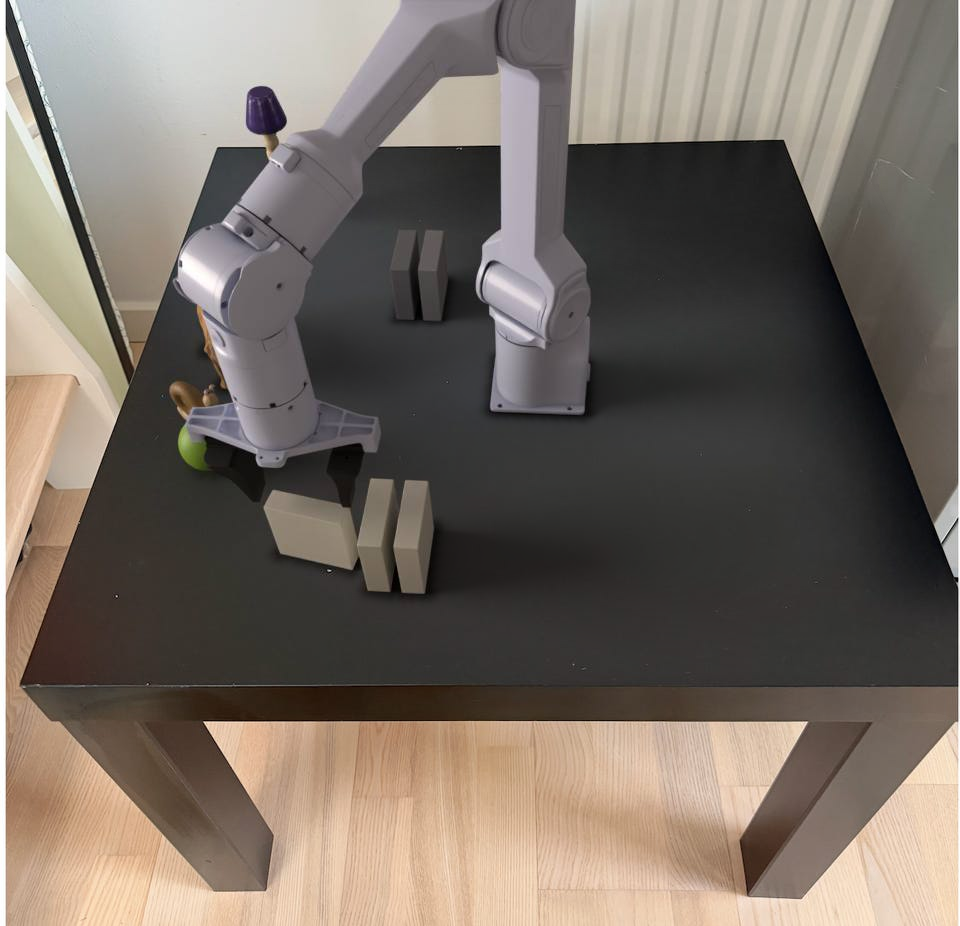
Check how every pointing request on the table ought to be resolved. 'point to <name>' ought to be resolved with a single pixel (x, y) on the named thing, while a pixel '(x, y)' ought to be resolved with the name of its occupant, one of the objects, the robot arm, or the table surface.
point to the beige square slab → (312, 529)
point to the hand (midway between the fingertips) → (303, 495)
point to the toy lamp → (265, 116)
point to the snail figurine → (185, 401)
